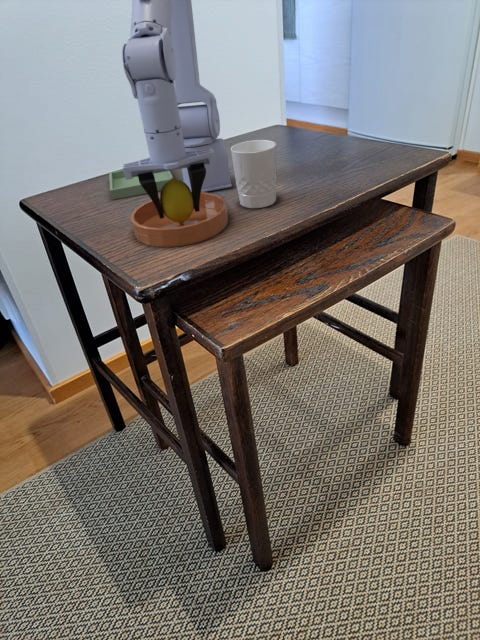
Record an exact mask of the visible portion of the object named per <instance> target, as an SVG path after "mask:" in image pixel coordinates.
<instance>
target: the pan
mask: <svg viewBox="0 0 480 640" xmlns="http://www.w3.org/2000/svg"><path fill="white" fill-rule="evenodd" d="M159 200H160V196H159ZM160 204H161V202H160ZM227 205H228V204H227V202H226V200H225V199H224V197H222V196H220V195H218V194H215V193H211V192H201V194H200V203H199V209H200V211H198V212H196V211H195V209H193V213H192V214H191V216H190V217H189V218H188V219H187V220H185V221H184V223H183V224H179V223H178V222H174V221H172V220H170V219H169V218H167V217H166V215H165V214H164V212H163V214H164V218H162V219H160V216H159V213H158V211H157V209H156V207H155V205H154V203H153V201H152V200H151V199H150V200H149V201H146V202H144V203H142V204H140V205H139V206H138V207H136V208H135V209H133V212H131V214H130V222H131V226H132V230H133V234H134V236H135V238H136V240H137V241H139V242H140V243H142V244H144V245H147V246H152V247H157V248H158V247H160V248H161V247H162V248H172V247H183V246H188V245H189V246H190V245H192V244H196V243H200V242H203V241H205V240H208V239H210V238H213V237H215V236H216V235H218V234H219V233H221V232H222V231H223V230H224V229H225V228H226V227H227V226H228V222H229V214H228V206H227Z"/></svg>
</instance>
